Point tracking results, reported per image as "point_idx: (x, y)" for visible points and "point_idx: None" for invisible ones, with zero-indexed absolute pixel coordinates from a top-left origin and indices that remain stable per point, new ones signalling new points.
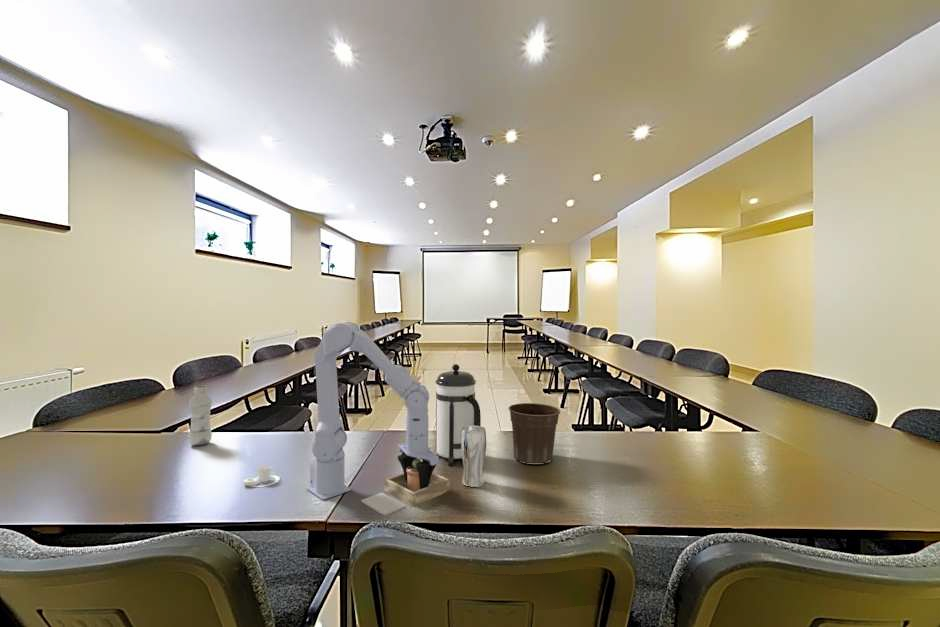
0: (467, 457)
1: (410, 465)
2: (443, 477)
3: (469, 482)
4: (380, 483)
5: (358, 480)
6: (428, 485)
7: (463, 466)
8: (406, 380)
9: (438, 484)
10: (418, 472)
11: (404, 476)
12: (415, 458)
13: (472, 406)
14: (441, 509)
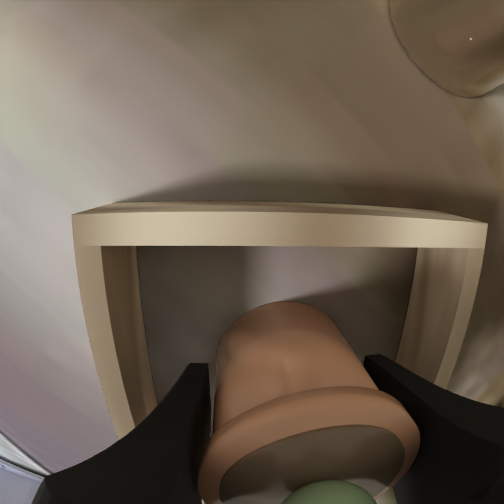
0: None
1: (201, 491)
2: (441, 225)
3: (489, 88)
4: (62, 411)
5: (7, 427)
6: (389, 360)
7: (498, 28)
8: None
9: (463, 332)
10: (398, 501)
11: (135, 398)
12: (178, 501)
13: None
14: (482, 362)
